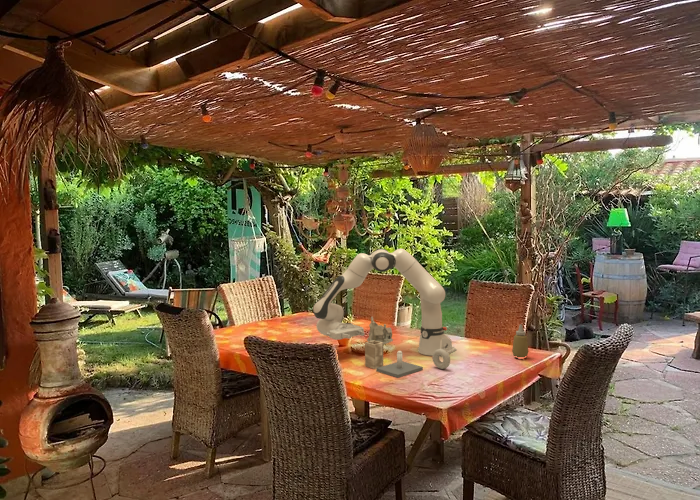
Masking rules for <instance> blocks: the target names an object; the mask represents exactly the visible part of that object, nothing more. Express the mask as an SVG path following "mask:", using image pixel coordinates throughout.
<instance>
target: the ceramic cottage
mask: <svg viewBox="0 0 700 500" xmlns="http://www.w3.org/2000/svg"><path fill="white" fill-rule="evenodd" d="M368 327H369V333H368V337H367V339H366V342H367V341H368V342H370V341H374V340H375V341H379V342H382V343H383V345H386V344H389V343H392V342H393V330H392V327H387V324H386V323H384V324H382V325H380V324H378V323H377V322H376V321H374V316H371V317H370V324H369V325H368Z"/></svg>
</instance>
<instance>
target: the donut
mask: <svg viewBox="0 0 700 500" xmlns="http://www.w3.org/2000/svg"><path fill="white" fill-rule="evenodd" d="M440 357H442V360H443V361H441V360H440ZM432 362H433V364H434V366H436V367H437V369H440V370H445V369H447V368H448V367H449V366H450V364H451V356H450V354H448V353H447V352H446V351H445V350H443V349H437V350H435V351H434V353H433V356H432Z"/></svg>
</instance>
